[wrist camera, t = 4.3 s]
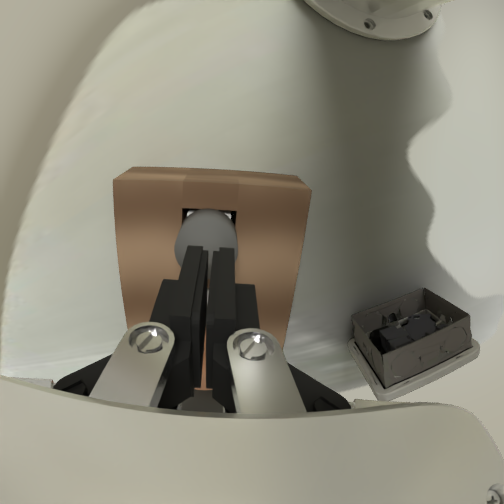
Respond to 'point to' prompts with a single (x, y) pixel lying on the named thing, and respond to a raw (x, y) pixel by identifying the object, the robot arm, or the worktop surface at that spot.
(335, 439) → the robot arm
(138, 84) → the worktop surface
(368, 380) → the electrical switch
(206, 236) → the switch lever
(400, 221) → the worktop surface
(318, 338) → the worktop surface
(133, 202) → the wooden socket board
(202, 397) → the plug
